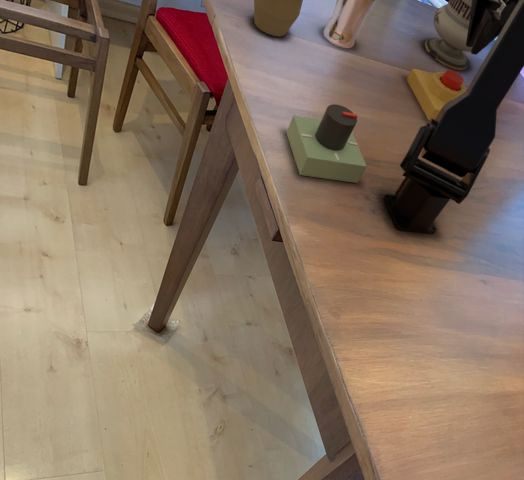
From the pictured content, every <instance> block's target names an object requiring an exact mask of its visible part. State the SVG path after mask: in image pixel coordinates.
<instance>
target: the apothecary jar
mask: <svg viewBox="0 0 524 480" xmlns="http://www.w3.org/2000/svg"><path fill="white" fill-rule="evenodd" d="M471 3H472V0H448V2H447V3H446V4H444V5H442V6H440V7H439V8H438V9H437V10H436V11H435V13H434V16H433V26H434V30H435V31H436V33H437V35H438V36H439V38H428V39H427V40H426V41H425V42H424V48H425V50H426V52H427V53H428V54H429V55H431V56H432V57H433V58H434V60H435V61H437V62H438V63H440V64H441V65H443V66H446V67H448V68H450V69H452V70H457V71H463V70H466V69H467V68H468V66H469V60H468V58H467V56H466V55H465V53H464V52H468V53H471V49H472V47H467V46H466V40H467V33H468V27H469V20H470V13H471Z"/></svg>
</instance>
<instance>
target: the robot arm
mask: <svg viewBox="0 0 524 480" xmlns="http://www.w3.org/2000/svg"><path fill="white" fill-rule="evenodd" d="M494 40H495V41H494ZM493 41H494V43H493V44H492V46H491V48H490V50H489V51H488V53H487V55H486V56H485V58H484V60H483V61H482V63H481V65H480V66H479V68H478V70H477V71H476V73H475V75H474V77H473V79H472V80H471V81H470V83H469V85H468V87H467V88H466V89H467V90H466V92H465V93H463V94H461V95H460V96H458V97H457V98H455V99H454V100H450V101H449V102H448V103H446V104H445V105H444V106H443V107H442V108H441V110H440V112H439V113H438V115H437V117H436V118H435V120H434V119H432V118H431V119H430V120H428V122H426V123H425V124H424V125H422V126H420V127H419V129H418V131H417V133H416V135H415V137H414V138H413V141H412V143H411V145H410V146H409V148H408V150H407V152H406V154H405V155H404V157H403V159H402V160H401V161H400V163H399V167H400V168H401V169H402V171H403V172H402V176H403V177H404V179H403V180H402V182H401V183H400V185H399V187H398V188H397V190H396V191H395V193H394V194H389V193H386V194H384V196H383V201H384V202H385V205H386V207H387V210H388V212H389V215H390V218H391V219H392V222H393V224H394V227H395V228H396V229H397V230H399V231H408V232H417V233H426V234H436V233H437V231H438V229H437V227H436V225H435V220H436V219H437V218H438V216H439V215H440V214H441V212H442V211H443V210H444V209H445V207H446V206H447V205H448V203H449V202H450V200H452V201H453V202H455V203H456V204H458V205H460V204H461V203H462V202H464V200H465V199H466V198H467V197H468V196H469V193H470V192H471V190H472V188H473V186H474V185H475V182H476V180H477V178H478V176H479V174H480V173H481V170H482V169H483V166H484V165H485V163H486V161H487V160H488V157H489V154H490V152H491V148H490V147H491V144H492V143H493V142H494V139H495V138H496V130H497V129H496V128H497V115H498V114H497V112H498V109H499V107H500V106H501V104H502V103H503V101H504V99H505V97H506V96H507V94H508V92H509V91H510V89H511V88H512V86H513V84H514V83H515V81H516V79H517V78H518V76H519V75H520V73H521V72H522V70H523V69H524V0H472V3H471V13H470V20H469V27H468V33H467V40H466V46H467V47H472V49H471V52H470V53H471V55H475V56H477V55H478V54H479V53H481V52H482V50H484V49H485V48H487V47H488V46H489V44H490V43H492V42H493ZM419 157H420V158H422V159H424V160H426V161H427V162H425V161H424V160H422V159H420V158H419ZM428 162H430V163H428ZM431 163H432V164H434V165H436V166H438V167H440V168H442V169H443V170H446V171H447V172H449V173H452V174H453V175H455V176H457V177H459V178H461V179H459V178H457V177H455V176H453V175H452V174H449V173H447V172H445V171H443V170H441V169H439V168H438V167H436V166H433V165H431Z"/></svg>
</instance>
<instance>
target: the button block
mask: <svg viewBox="0 0 524 480" xmlns="http://www.w3.org/2000/svg"><path fill="white" fill-rule="evenodd" d="M444 73H445V72H443V71H437V72H430V71H425V70H422V69H417V68H412V69H410V72H409V74H408V76H407V78H406V81H407V84H408V85H409V87H410V88H411V90H412V92H413V94H414V96H415V98H416V100H417V102H418V103H419V105H420V107H421V109H422V111H423V113H424V114H425V116H426V118H427V120H428V121H430V119H431V118H432V119H434V120H435V118H436V117H437V115H438V113H439V112H440V110H441V108H442V107H443V106H444V105H445V104H446V103H448V102H449V101H450V100H454V99H455V98H457V97H458V96H460V95H461V94H463V93H465V92H466V90H467V89H468V88H466V86H465V84H464V83H463V84H462V85H461V87H460V88H459V90H458V91H455V90H451V89H449V88H447V87H446V86H445V85H444V84H442V83H441V81H440V80H441V78H442V77H443V75H444Z"/></svg>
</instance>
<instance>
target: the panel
mask: <svg viewBox="0 0 524 480" xmlns="http://www.w3.org/2000/svg"><path fill="white" fill-rule="evenodd" d="M321 120H322V119H317V118H311V117H306V116H302V115H301V116H300V115H295V114H293V115H292V117H291V120H290V123H289V124H288V128H287V130H286V136H287V140H288V143H289V146H290V149H291V152H292V155H293V158H294V162H295V164H296V167H297V171H298V174H299V175H300V176H304V177H312V178H319V179H324V180H325V179H326V180H333V181H338V182H339V181H340V182H347V183H354V184H358V183H359V182H360V179H361V178H362V176H363V174H364V172H365V171H366V169H367V167H368V166H367V163H366V161H365V158H364V156H363V153H362V152H361V149H360V147H359V144H358V142H357V139H356V137H355V135H354V132H353V131H352V133H351V135H350V137H349V139H348V141H347V143H346V145H345V147H344V148H343V149H342V150H331V149H328V148H326V147H324V146H323V145H321V144H320V143H319V142H318V140H317V139H316V136H315V134H316V131H317V129H318V127H319V125H320V122H321Z"/></svg>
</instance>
